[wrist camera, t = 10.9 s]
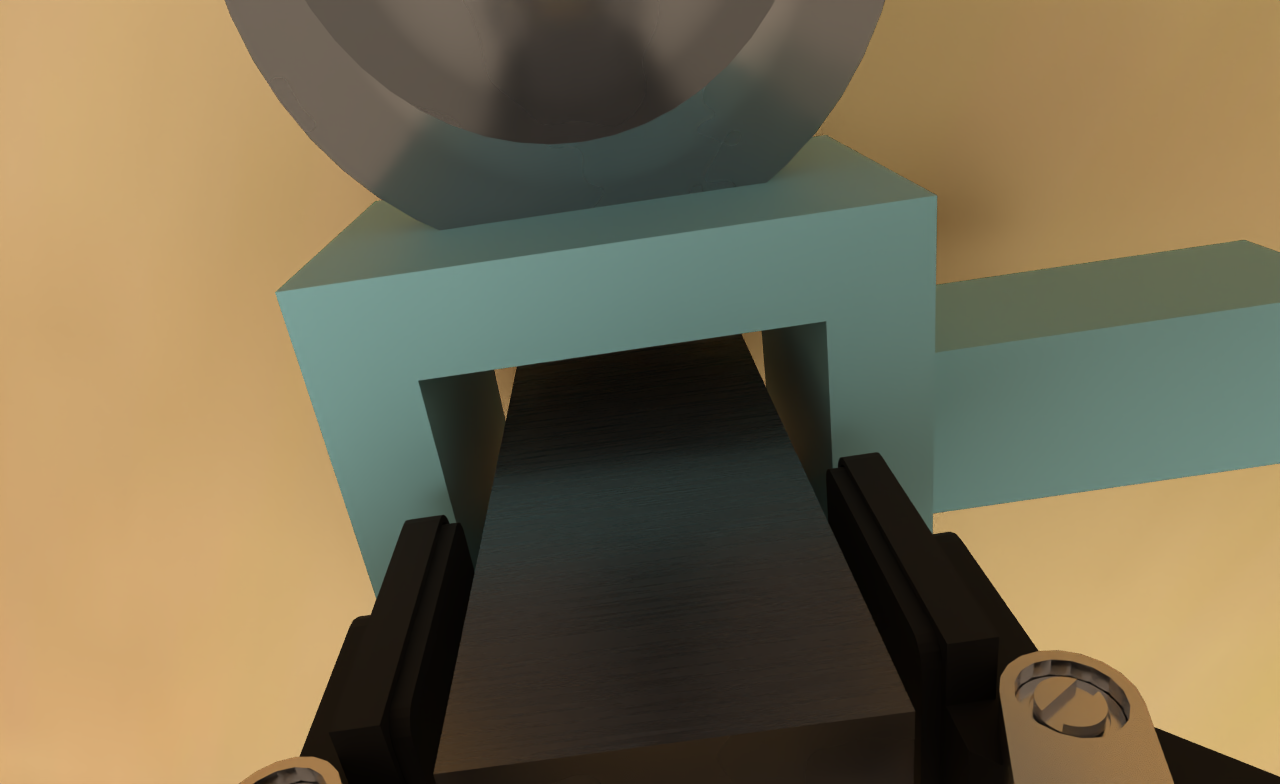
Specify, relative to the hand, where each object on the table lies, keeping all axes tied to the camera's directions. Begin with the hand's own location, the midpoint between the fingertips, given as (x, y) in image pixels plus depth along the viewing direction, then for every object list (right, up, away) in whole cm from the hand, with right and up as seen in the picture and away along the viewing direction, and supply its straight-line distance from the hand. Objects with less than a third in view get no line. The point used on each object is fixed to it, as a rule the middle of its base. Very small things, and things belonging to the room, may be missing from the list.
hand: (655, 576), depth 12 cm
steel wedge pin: (-1, +5, +12) cm, 13 cm away
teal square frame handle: (+4, +4, +7) cm, 8 cm away
